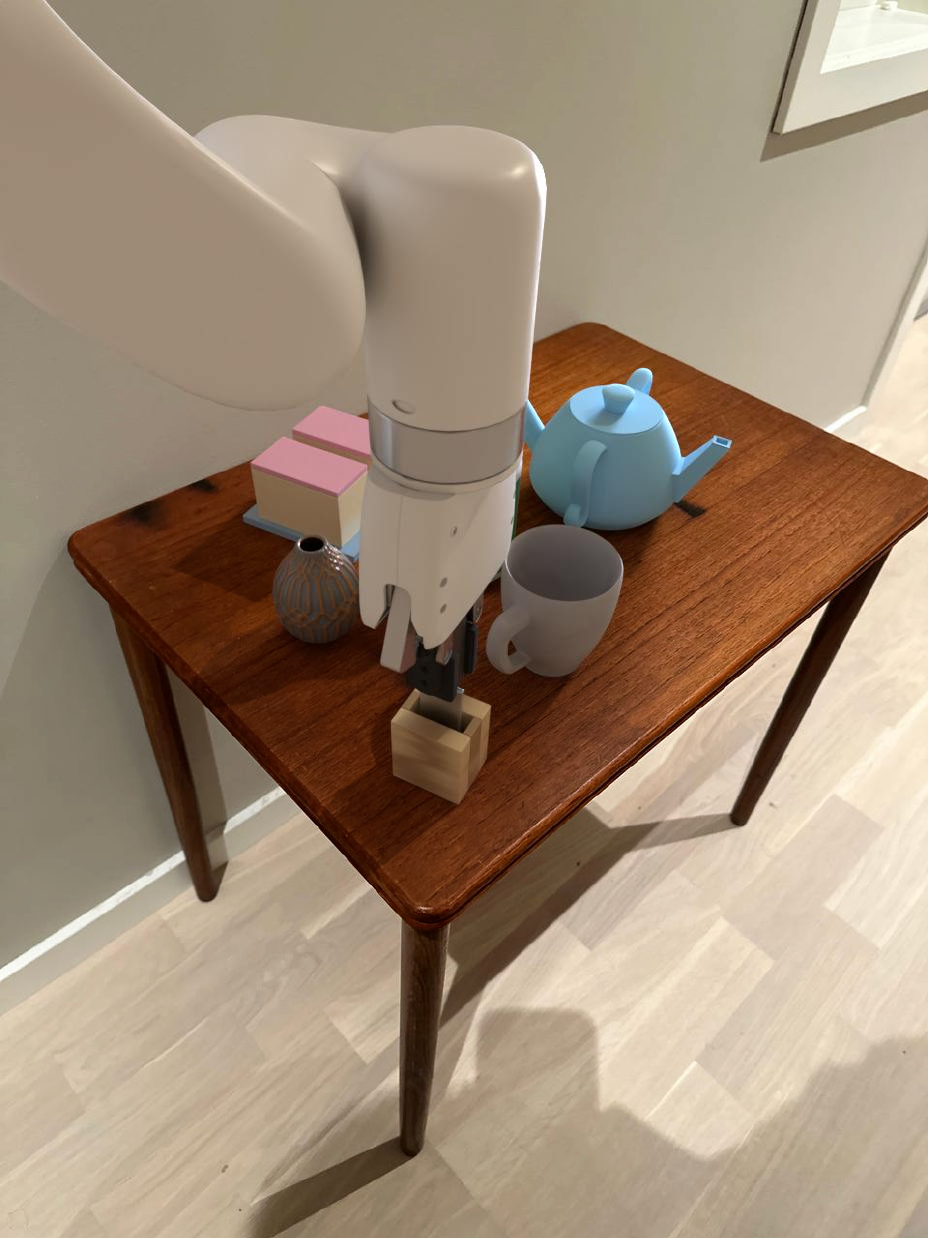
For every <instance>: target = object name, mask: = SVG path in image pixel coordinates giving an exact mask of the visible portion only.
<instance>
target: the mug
mask: <svg viewBox="0 0 928 1238" xmlns="http://www.w3.org/2000/svg"><path fill="white" fill-rule="evenodd" d="M623 578H624V565H623V560H622V558H621V556H620V554H619V553H618V551H617V550H616V548H615V547H614V546H613V544H611V543H610V542H609V541H608V540H607V539H605V538H604V537H602V536H601V535H600V534H598V533H595V532H594V531H591V530H589V529H585V528H584V527H583V528H582V527H580V528H579V527H575V526H569V525H565V524H546V525H540V526H536V527H533V528H532V527H531V528H530V529H527V530H525V531H523V532H521V533H520V534H517V536H515V538H514V539H513V540H512V541H511V543H510V547H509V551H508V554H507V556H506V558H505V560H504V562H503V564H502V570H501V577H500V598H501V600H500V601H501V608H502V612H501V614H499V615H497V617H496V618H495V619H494V621H493V622H492V624H491V626H490V628H489V631H488V635H487V638H486V645H485V653H486V656H487V659H488V661H489V662H490V664H491V665H492V667H493V668H495V669H496V670H498V671H499V672H500V673H503V674H505V675H512V674H514V673H516V672H518V671H519V670H521V669H522V668H524V667H525V668H526V669H528V670H529V672H530V671H531V672H532V673H534V674H537V675H539V676H543V677H549V678H558V677H564V676H567V675H570V674H571V673H573V672H575V671H577V670H578V668H579V667H580V666H581V664H582V662H583V661H584V660H585V659H586V658H587V657H588V656H589V655H590V654H591V653H592V652H593V651H594V649H595V648H596V647H597V645H599V643H600V641H601V639H602V638H603V636H604V634H605V633H606V631H607V629H608V627H609V625H610V623H611V621H612V618H613V615H614V612H615V609H616V607H617V603H618V600H619V597H620V591H621V589H622V584H623ZM510 642H511V643H512V645H513V647H514V648H515V650H516V651H515V652H514V653H511V654H510V655H509V654H508V652H509V651H508V650H509V643H510Z"/></svg>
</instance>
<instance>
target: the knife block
mask: <svg viewBox="0 0 928 1238" xmlns="http://www.w3.org/2000/svg"><path fill="white" fill-rule="evenodd" d="M491 711H492V706H491V705H490V704H488V703H486V702H484V701H481V700H479V699H476V698H474V697H471V696H469V695H467V694H464V704H463V725H462V733H460V732H457V731H455V730H453V729H450V728H448V727H446V726H443V725H441V724H439V723H436V722H434V721H432V720H429V719H427V718H425V717H422V716H420V691H418V690H417V689H415V688H413V691H412V692H411V693H410V695H409V696H408V697H407V699H405V702H404V703H403V704H402V705H401V707H400V709H398V711H397V713H396V714H395V715H394V716H393V718H392V719H391V720H390V737H391V739H390V740H391V759H392V760H391V761H392V776H394V777H397V778H399V779H401V780H403V781H405V782H408V783H409V784H412V785H414V786H416V787H419V788H420V789H423V790H425V791H427V792H429V793H431V794H433V795H436V796H438V797H440V798H442V799H445V800H446V801H449V802H451V803H453V804H455V805H458V806H459V805H460V804H461V802H462V801H463V799H464V797H465V796H466V794H467V792H468V791H469V789H470V787H471V786H472V784H473V783H474V781H475V779H476V778H477V776H478V774H479V773H480V771H481V769H482V768H483V766H484V764H485V763H486V761H487V758H488V749H489V748H488V747H489V736H490V735H489V733H490V723H491Z"/></svg>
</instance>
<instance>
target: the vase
mask: <svg viewBox="0 0 928 1238" xmlns="http://www.w3.org/2000/svg"><path fill="white" fill-rule="evenodd" d="M271 593H272V601H273V607H274V610H275V613H276V616H277V618H278V620H279V622H280V623H281V624H282V626H283V627H284V629H285V630H286V631H287V632H288V633H289V634H290V635H292V636H293V637H294V638H296V639H298V640H300V641H302V642H305V643H309V644H318V645H320V644H321V645H323V644H327V643H331V642H334V641H336V640H338V639H341V637H343V636H345V635H346V634H347V633H348V632H349V631H350V630H351V629H352V628H353V627H354V625H355V624H356V622H357V620H358V619H359V614H360V602H359V573H358V572H357V570H356V568H355V566H354V564H353V563H351V562H350V560H349V559H348V558H347V557H346V556H345V555H344V554H343V553H341V552H340V551H339V550H337V549H336V548H334V547H333V546H331V545H330V544H329V542H328V541H327V540H326V538H325V537H323V536H321V535H318V534H307V535H304V536H302V537H300V538H299V539H298V540H297V541H296V542H295V543H294V545H293V548H292V549H291V550H290V551H289V552H288V553H287V554H286V555H285V557H284V558H283V559H282V561H280V563H279V564H278V567H277V569H276V571H275V574H274V578H273V582H272V591H271Z"/></svg>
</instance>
